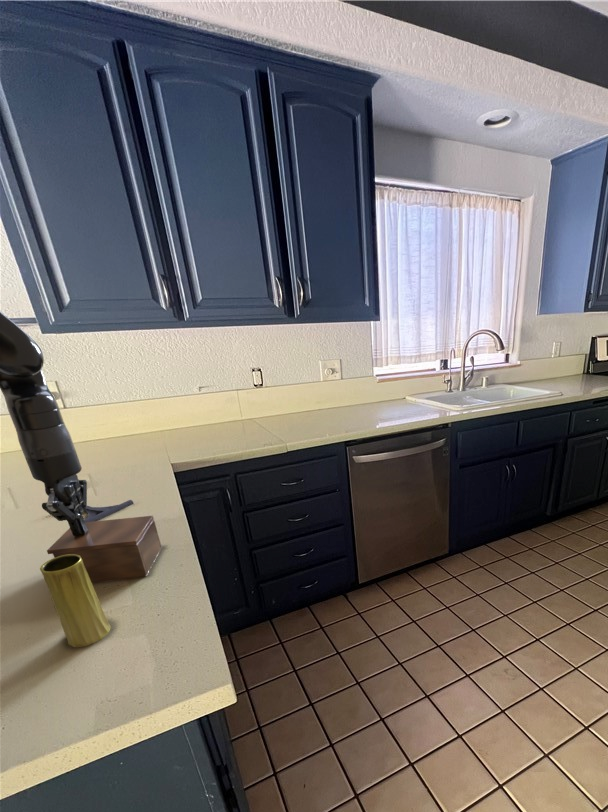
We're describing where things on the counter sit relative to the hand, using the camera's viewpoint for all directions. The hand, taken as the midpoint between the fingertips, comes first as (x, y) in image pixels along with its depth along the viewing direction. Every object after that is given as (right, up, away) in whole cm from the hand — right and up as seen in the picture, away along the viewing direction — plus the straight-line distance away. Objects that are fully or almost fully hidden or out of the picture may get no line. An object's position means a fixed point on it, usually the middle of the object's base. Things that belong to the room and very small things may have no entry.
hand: (81, 534), depth 85 cm
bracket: (-18, +4, +30) cm, 36 cm away
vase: (+12, -16, -14) cm, 25 cm away
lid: (+4, 0, +1) cm, 4 cm away
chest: (+5, -7, +5) cm, 10 cm away
